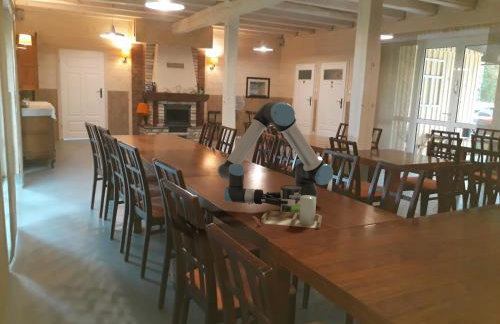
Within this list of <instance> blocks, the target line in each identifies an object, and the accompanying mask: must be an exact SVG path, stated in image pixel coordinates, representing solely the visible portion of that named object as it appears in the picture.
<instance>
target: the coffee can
mask: <svg viewBox="0 0 500 324" xmlns="http://www.w3.org/2000/svg"><path fill="white" fill-rule="evenodd" d="M301 189H302V187H300V186H295V184H286V185H285V184H284V185H281V186H280V192H281V198H279V199H291V200H295V206H292V205H281V206H279V211H280V212H293V213H300V196H301Z"/></svg>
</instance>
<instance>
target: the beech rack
mask: <svg viewBox="0 0 500 324" xmlns="http://www.w3.org/2000/svg"><path fill="white" fill-rule="evenodd" d="M260 219H261V221H260V226H262V227H264V224H266V225H278V226H289V227H290V226H291V227H300V228H313V229H321V226H322V225H321V224H322V222H323V221H322V219H323V215H322V214H316V213H315V224H314V225H311V226H306V225H301V224H300V223H299V213H293V212H280V210H279V211H278V210H266V211H265V212H264V213H263V215H262V216H261V218H260Z"/></svg>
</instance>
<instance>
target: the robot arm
mask: <svg viewBox="0 0 500 324" xmlns="http://www.w3.org/2000/svg"><path fill="white" fill-rule="evenodd" d="M295 115H296V112H295V110H294V107H293V106H292V105H291V104H289V103H287V102H283V101H278V102H271V101H269V102H266V103H265V104H264V105H262V106H261V107H260V108H259V109H258V110H257V112H256V113H255V114H254V116H253V117H252V119H251V124H250V125H249V127H248V128H247V129H246V131H245V132H244V134H243V136H242V137H241V138H240V140H239V141H238V143H237V144H236V146H235V147H234V149H233V150H232V152H230V154H229V156H228V158H227V159H226V160H225V162H224V163H222V164H220V165H219V166H218V167H217V175H218V176H219V177H221V178H222V179H225V180H227V181H228V186H227V187H225V189H224V191H223V198H224V201H225V202H228V203H237V204H238V203H239V204H247V205H250V204H251V205H253V204H255V205H262V204H268V205H272V206H273V205H274V206H277V207H280V206H281V205H292V206H295V200H291V199H280V198H281V191H272V192H271V191H270V192H269V191H267V192H266V193H264V190H263V189H257V188H256V189H255V188H245V186H244V180H245V179H244V178H245V177H244V176H245V170H244V169H245V167H244V164H242V163H243V161H244V160H245V158H246V157H247V155H248V154H249V152H250V151H251V149H252V148H253V147H254V145H255V144H256V142H257V141H258V140H259V138H260V137H261V135H262V134H263V132H264V131H267V130H268V128H269V127H270V126H273V127H274V129H275V130H276V132H277V133H280V134H281V133H282V135H283V137H284V138H285V140H287V142H288V144H289V145H290V146H291V148H292V149H293V152H295V154H296V155H297V157H298V158H297V159H296V160H295V166H294V167H295V174H294V175H295V177H294V185H295V186H300V187H302V189H301V196H303V195H310V196H315V197H316V199H317V198H318V192H317V187H316V185H321V186H325V185H328V184H329V183H330V182H331V181H332V179H333V175H334V170H333V169H334V168H333V167H332V166H331V165H330V164H328V163H325V161H324V159H323V158H322V157H321V156H319V155H317V154H316V153H315V150H314V149H313V148H312V147H311V145H310V144H309V142H308V140H307V139H306V137H305V136H304V134H303V133H302V131H301V130H300V128H299V127H298V125H297V124H296V122H297V118H296V116H295Z"/></svg>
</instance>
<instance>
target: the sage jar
mask: <svg viewBox="0 0 500 324" xmlns="http://www.w3.org/2000/svg"><path fill="white" fill-rule="evenodd" d="M316 205H317V198H316V197H315V196H310V195H303V196H300V213H299V223H300V224H301V225H306V226H311V225H314V224H315V214H316V209H317V208H316V207H317V206H316Z"/></svg>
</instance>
